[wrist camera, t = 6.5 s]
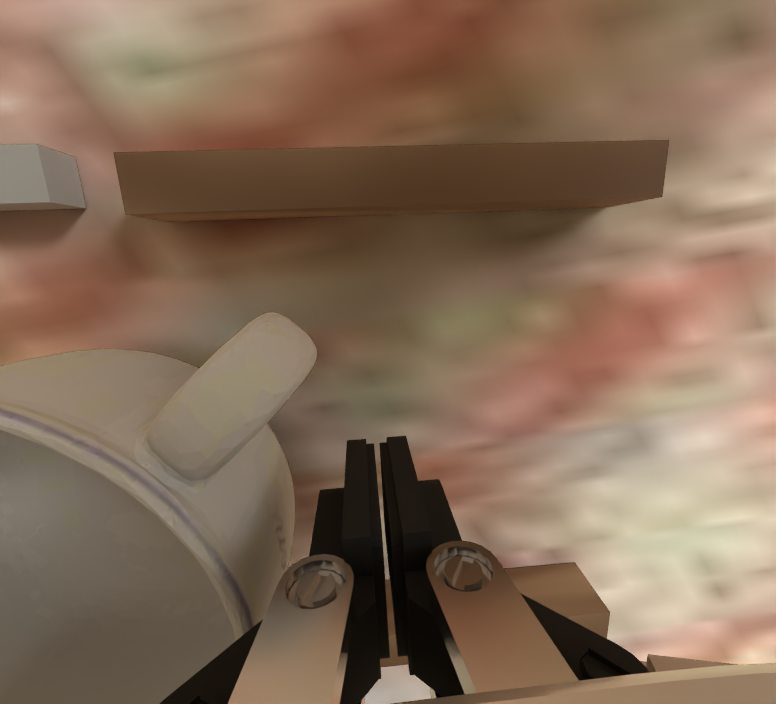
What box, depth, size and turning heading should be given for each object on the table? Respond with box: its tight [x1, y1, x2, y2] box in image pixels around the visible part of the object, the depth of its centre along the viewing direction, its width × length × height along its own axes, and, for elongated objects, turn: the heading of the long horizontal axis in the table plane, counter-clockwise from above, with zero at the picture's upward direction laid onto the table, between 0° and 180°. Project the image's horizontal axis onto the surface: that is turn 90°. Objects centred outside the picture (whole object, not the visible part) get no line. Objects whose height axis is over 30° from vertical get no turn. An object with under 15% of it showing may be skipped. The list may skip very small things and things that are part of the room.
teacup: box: [0, 312, 317, 704], centre depth 11 cm, size 14×11×8 cm
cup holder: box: [113, 140, 669, 667], centre depth 14 cm, size 18×15×2 cm
